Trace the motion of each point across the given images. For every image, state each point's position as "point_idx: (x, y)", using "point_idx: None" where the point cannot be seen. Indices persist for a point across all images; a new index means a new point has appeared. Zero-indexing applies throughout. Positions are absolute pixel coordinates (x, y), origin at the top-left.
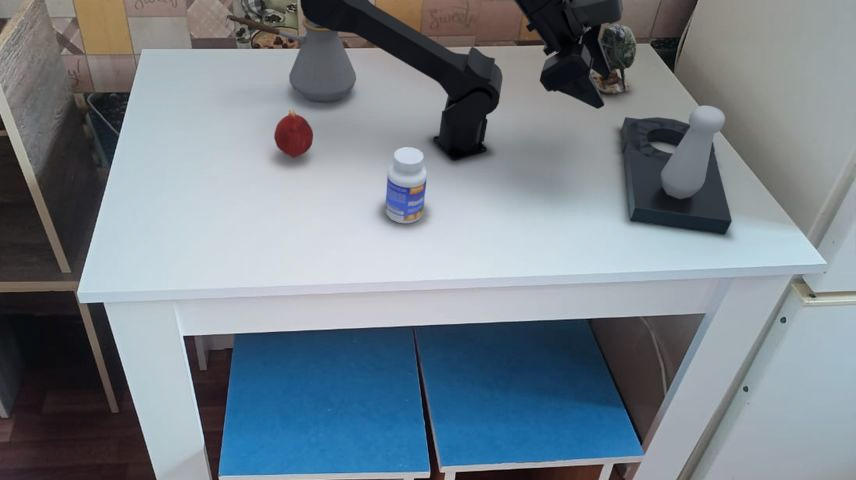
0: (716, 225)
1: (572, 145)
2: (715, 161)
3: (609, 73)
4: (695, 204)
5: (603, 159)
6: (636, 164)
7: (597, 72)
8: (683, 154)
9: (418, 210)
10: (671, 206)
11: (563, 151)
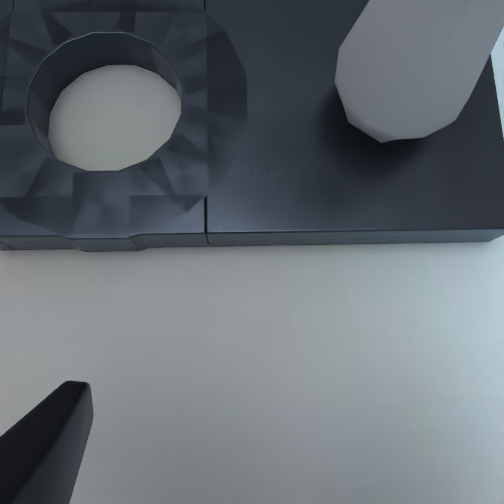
0: None
1: (130, 420)
2: None
3: (85, 390)
4: None
5: (193, 312)
6: (279, 213)
7: (70, 490)
8: (497, 35)
9: None
10: (474, 125)
11: (176, 452)
